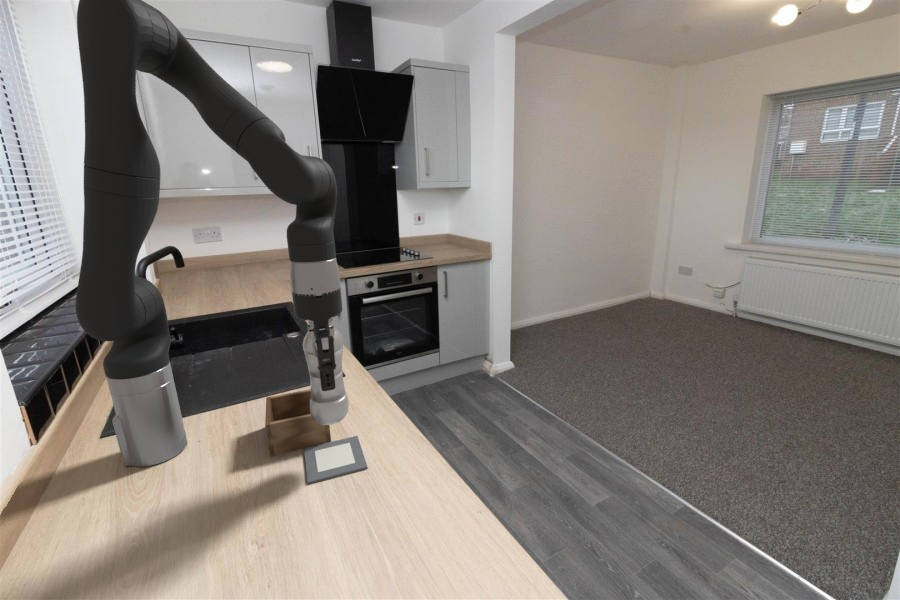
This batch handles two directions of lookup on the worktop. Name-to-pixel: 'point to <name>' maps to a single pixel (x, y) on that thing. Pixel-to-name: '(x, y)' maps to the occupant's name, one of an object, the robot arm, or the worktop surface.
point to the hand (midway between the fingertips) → (326, 380)
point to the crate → (292, 423)
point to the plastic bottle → (322, 403)
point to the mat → (334, 459)
